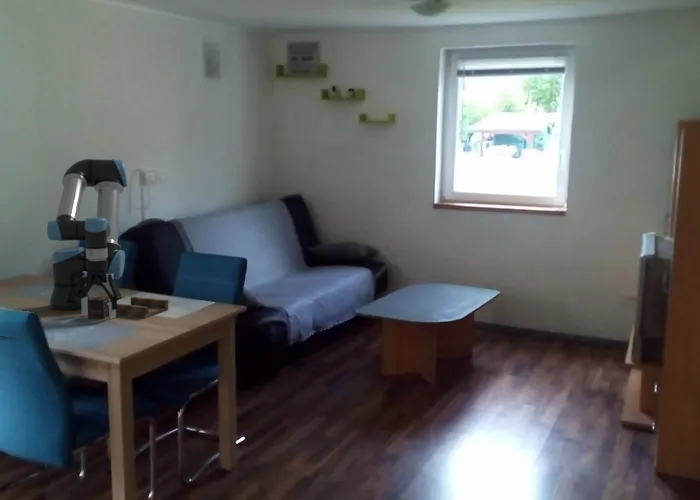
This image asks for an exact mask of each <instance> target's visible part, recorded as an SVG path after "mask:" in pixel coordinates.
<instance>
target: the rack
mask: <svg viewBox="0 0 700 500" xmlns="http://www.w3.org/2000/svg"><path fill="white" fill-rule="evenodd" d="M167 311H169V300H168V299H162V298H161V299H159V298H152V297H151V298H150V297H142V296H141V297H140V296H138V297H137V296H131V297H130V304H124V303H117V309H116V316H121V317H129V318H131V317H132V318H141V319H148V318H149V317H153V316H155V315H158V314H160V313H164V312H167Z"/></svg>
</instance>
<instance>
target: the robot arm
mask: <svg viewBox="0 0 700 500" xmlns="http://www.w3.org/2000/svg"><path fill="white" fill-rule="evenodd" d="M127 179H128V177H127V172H126V165H125V162H124V161H123V160H121V159H113V158H112V159H97V158H96V159H95V158H93V159H91V158H85V159H82V160H79V161H76V162H75V163H74V164H72V165H71V166H70V167H68V169H67V170H66V171H65V173H64V175H63V176H62V182H61V184H62V186H63V189H62V192H61V193H62V194H61V197H60V202H59V205H58V209H57V215H56V218H55V219H54V220H50V221H48V222H47V229H46V230H47V231H46V232H47V233H46V234H47V238H48V239H49V240H50V241H60V242H62V241H65V242H66V241H67V242H68V241H85V247H84V246H74V247H68V248H67V247H66V248H62V249H58V250H56V251H54V253H53V254H52V263H51V264H52V274H53V275H52V276H53V277H52V278H53V290H52V293H51V297H50V300H49V308H50V309H51V310H59V311H60V310H61V311H72V310H81V316H83V317H85V316H88V299H90V298H91V297H90V296H89V292H90V290H91V289H92V287H93V286H94V285H97V286H98V285H99V286H101V287H102V288H103V290H104V291H105V293H106V295H107V297H109V316H108V317H109V318H108V319H110V320H112V319H115V318H116V317H117V315H116V309H117V304H118V301H119V300H121V299H122V294H121V292H120V289H119V286H118V284H117V283H118V282H117V280H119V279H121V277H122V276H123V273H124V269H125V263H126V261H125V260H126V252H125V251H124V250H123V249H122V245H120V244H119V243H118V241H119V217H120V195H121V194H122V193H124V189H125V188H127V187H128V180H127ZM88 187H89V188H90V187H91V188H94V191H95V192H96V193H97V202H96V203H97V204H96V217H93V216H92V217H86V218H85V220H79V213H80V209H81V203H82V198H83V193H84V191H85V190H86V188H88Z"/></svg>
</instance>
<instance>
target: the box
mask: <svg viewBox="0 0 700 500" xmlns="http://www.w3.org/2000/svg"><path fill="white" fill-rule="evenodd" d="M89 298H90V299H88V315H87V319H89V320H90V319H91V320H93V319H96V320H97V319H100V320H103V319H106V318H108V317H109V301H110V298H109V297H108V296H92V297H89Z"/></svg>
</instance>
